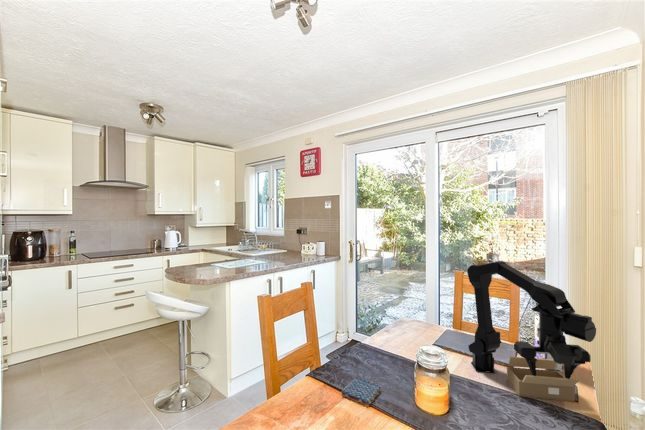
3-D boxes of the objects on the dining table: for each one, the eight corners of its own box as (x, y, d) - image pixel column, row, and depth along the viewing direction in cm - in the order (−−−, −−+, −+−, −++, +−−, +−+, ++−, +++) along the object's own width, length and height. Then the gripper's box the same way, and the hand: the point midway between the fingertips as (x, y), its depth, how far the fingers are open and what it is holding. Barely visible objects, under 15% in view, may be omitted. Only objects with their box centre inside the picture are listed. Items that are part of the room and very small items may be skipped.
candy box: (564, 372, 111) (564, 328, 111) (545, 369, 113) (545, 326, 113) (550, 356, 124) (550, 316, 124) (533, 353, 126) (533, 315, 126)
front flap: (522, 381, 96) (522, 382, 96) (525, 374, 94) (526, 376, 94) (572, 385, 94) (573, 387, 93) (577, 379, 91) (578, 380, 91)
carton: (519, 396, 97) (519, 381, 97) (507, 381, 106) (507, 366, 106) (576, 402, 94) (576, 386, 94) (559, 385, 103) (559, 371, 103)
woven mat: (339, 397, 98) (339, 390, 98) (355, 382, 106) (355, 376, 106) (368, 409, 92) (368, 402, 92) (382, 392, 100) (382, 386, 100)
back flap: (554, 369, 103) (553, 368, 104) (556, 360, 102) (556, 359, 102) (509, 366, 106) (508, 365, 106) (510, 357, 104) (510, 356, 105)
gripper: (530, 338, 87) (530, 390, 87) (604, 342, 83) (604, 397, 83) (513, 323, 97) (513, 370, 98) (578, 326, 94) (578, 375, 94)
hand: (550, 378), depth 93 cm, fingers open, 9 cm apart
